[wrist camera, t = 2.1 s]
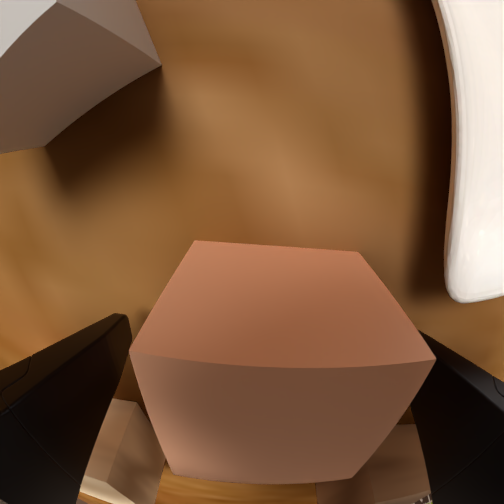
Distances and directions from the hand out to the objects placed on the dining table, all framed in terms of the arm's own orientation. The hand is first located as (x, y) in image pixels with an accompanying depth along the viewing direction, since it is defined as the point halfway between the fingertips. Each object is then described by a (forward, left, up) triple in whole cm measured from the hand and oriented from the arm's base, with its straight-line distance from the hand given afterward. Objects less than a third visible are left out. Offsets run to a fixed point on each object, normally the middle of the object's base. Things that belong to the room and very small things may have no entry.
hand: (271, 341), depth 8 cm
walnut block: (-10, -7, -1) cm, 12 cm away
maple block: (-9, +8, -1) cm, 12 cm away
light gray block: (+9, +7, -1) cm, 11 cm away
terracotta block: (0, 0, -1) cm, 1 cm away
